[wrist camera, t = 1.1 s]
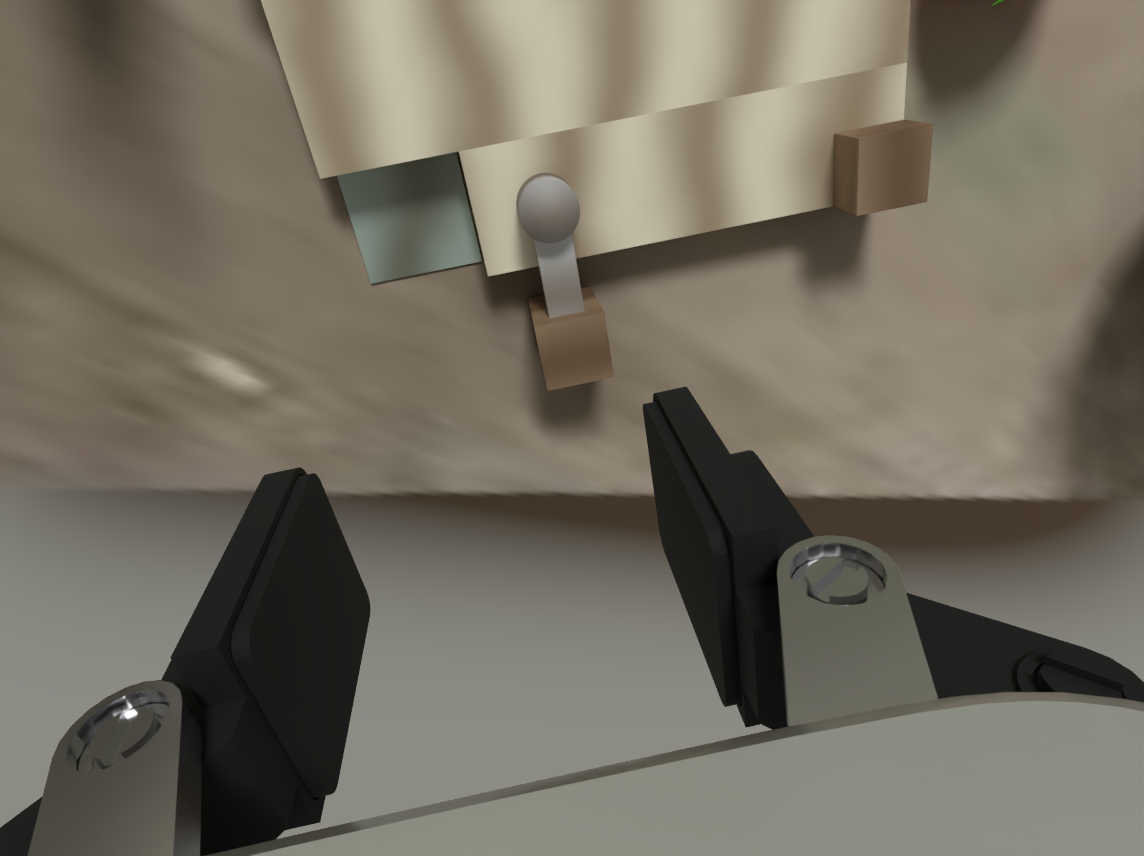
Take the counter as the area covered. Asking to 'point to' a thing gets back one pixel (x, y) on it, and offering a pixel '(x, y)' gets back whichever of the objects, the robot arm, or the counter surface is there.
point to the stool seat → (597, 117)
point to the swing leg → (562, 288)
